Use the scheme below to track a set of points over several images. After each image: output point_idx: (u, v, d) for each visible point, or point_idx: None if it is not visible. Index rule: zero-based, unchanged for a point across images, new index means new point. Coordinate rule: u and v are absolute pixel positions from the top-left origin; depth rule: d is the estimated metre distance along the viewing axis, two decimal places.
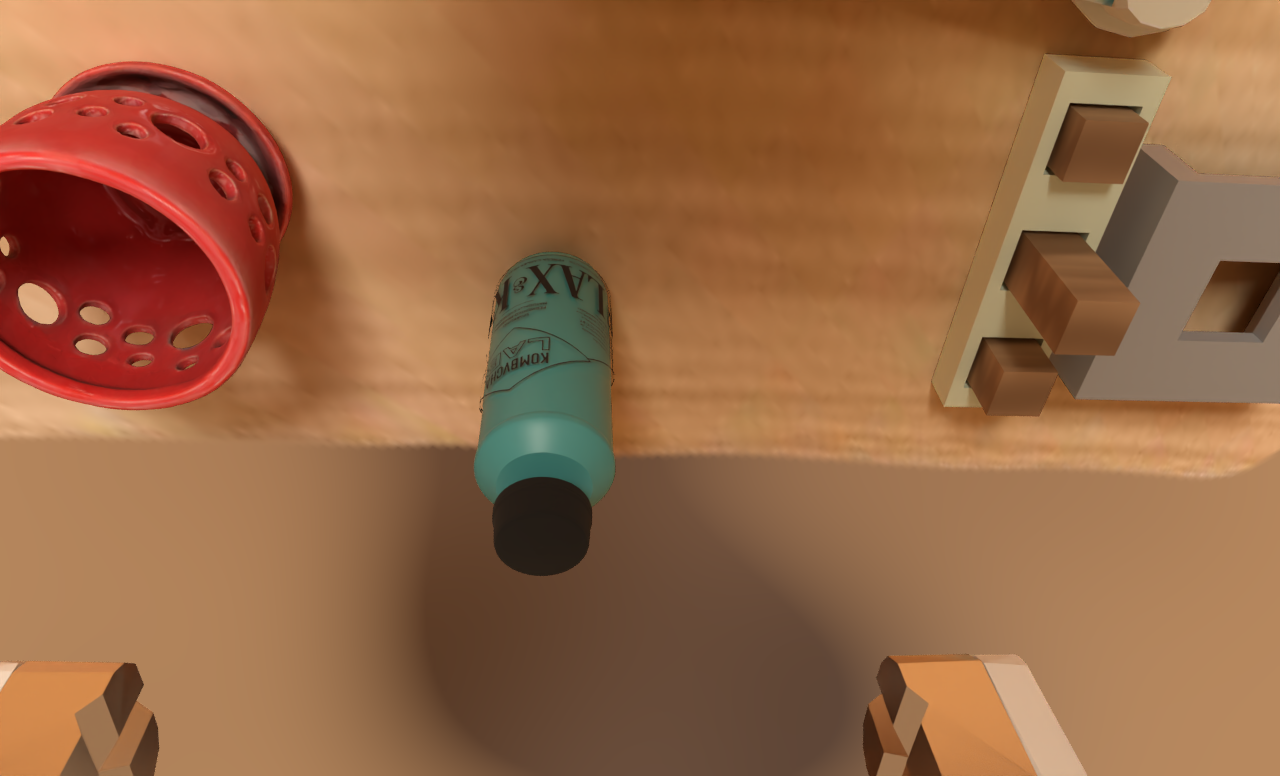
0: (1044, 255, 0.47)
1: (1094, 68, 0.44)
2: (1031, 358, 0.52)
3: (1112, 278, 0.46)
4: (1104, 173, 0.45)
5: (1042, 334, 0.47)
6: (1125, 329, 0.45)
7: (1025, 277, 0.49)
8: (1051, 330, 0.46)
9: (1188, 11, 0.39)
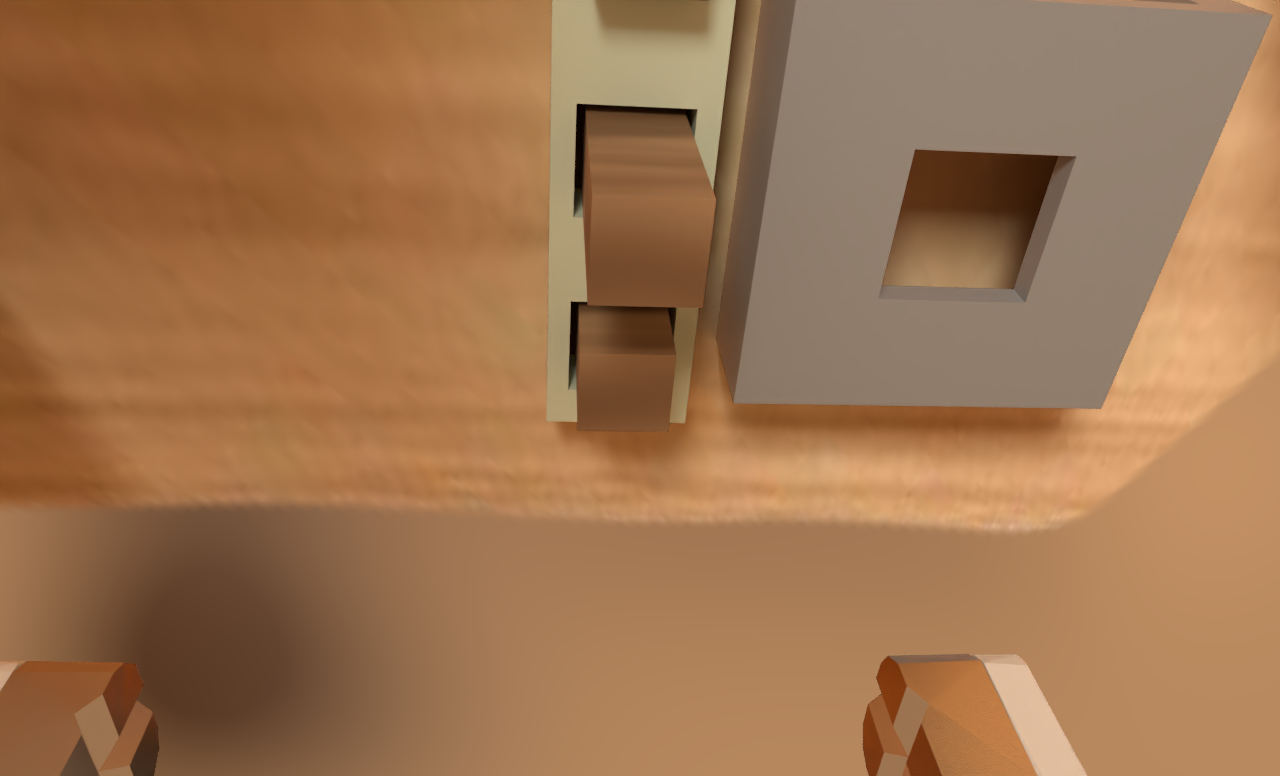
0: (594, 137, 0.27)
1: None
2: (642, 333, 0.31)
3: (692, 167, 0.25)
4: None
5: (586, 274, 0.26)
6: (705, 254, 0.24)
7: None
8: (587, 263, 0.25)
9: None
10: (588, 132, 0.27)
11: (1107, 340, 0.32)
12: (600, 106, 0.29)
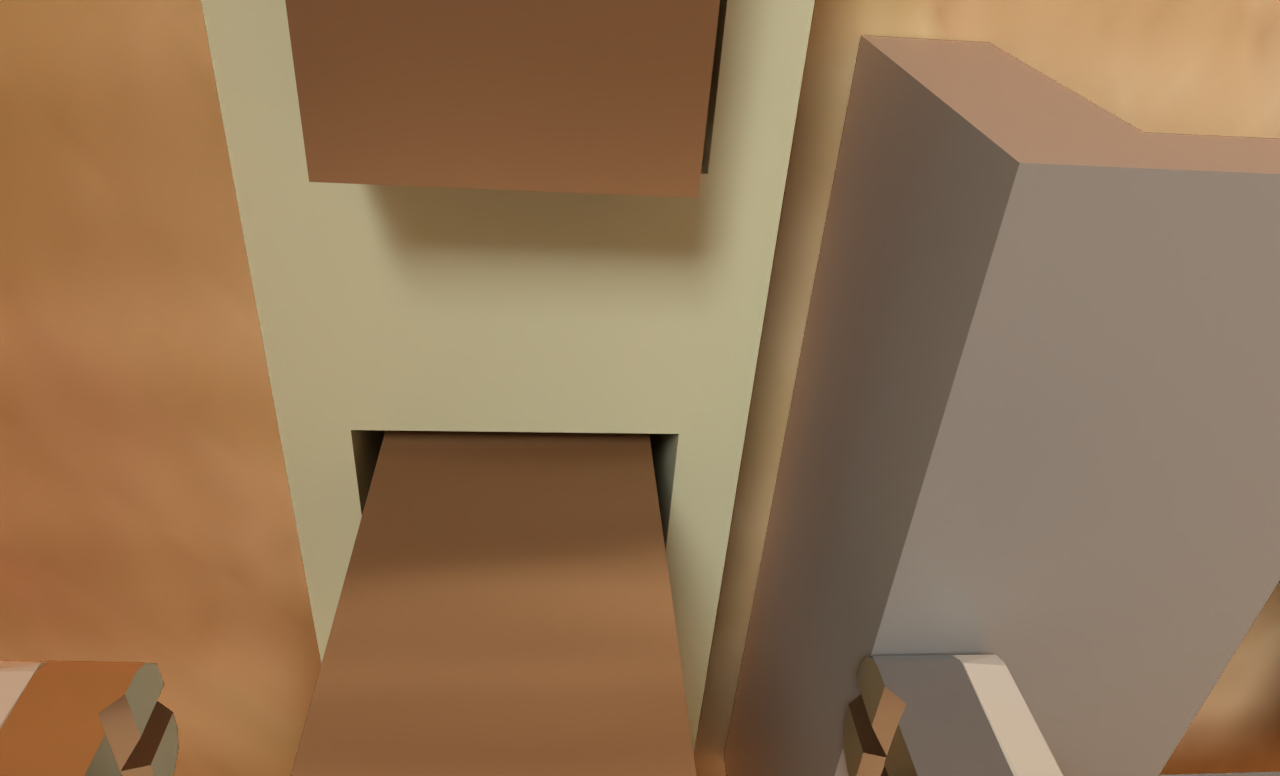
0: (363, 580, 0.09)
1: None
2: None
3: (653, 769, 0.07)
4: (558, 128, 0.07)
5: None
6: None
7: None
8: None
9: None
10: (354, 554, 0.09)
11: None
12: None
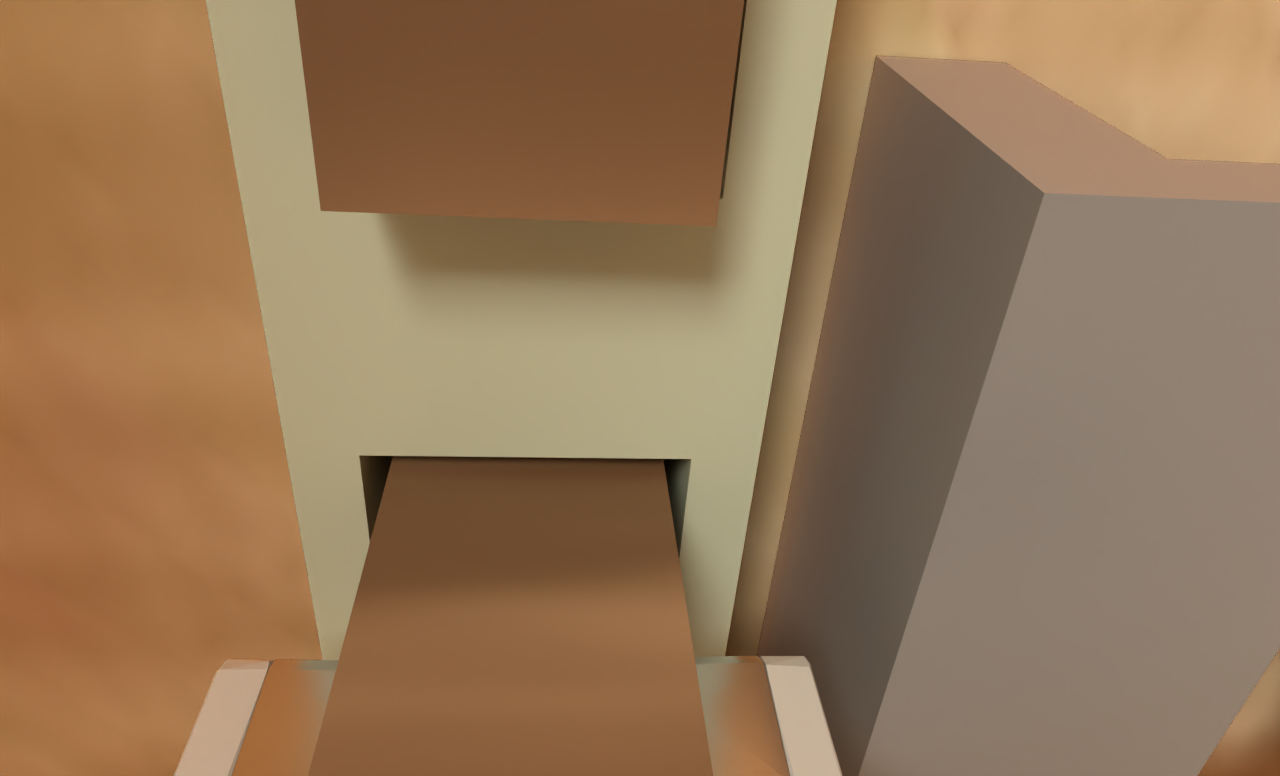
0: (373, 603, 0.09)
1: None
2: None
3: None
4: (574, 157, 0.07)
5: None
6: None
7: None
8: None
9: None
10: (364, 576, 0.09)
11: None
12: None
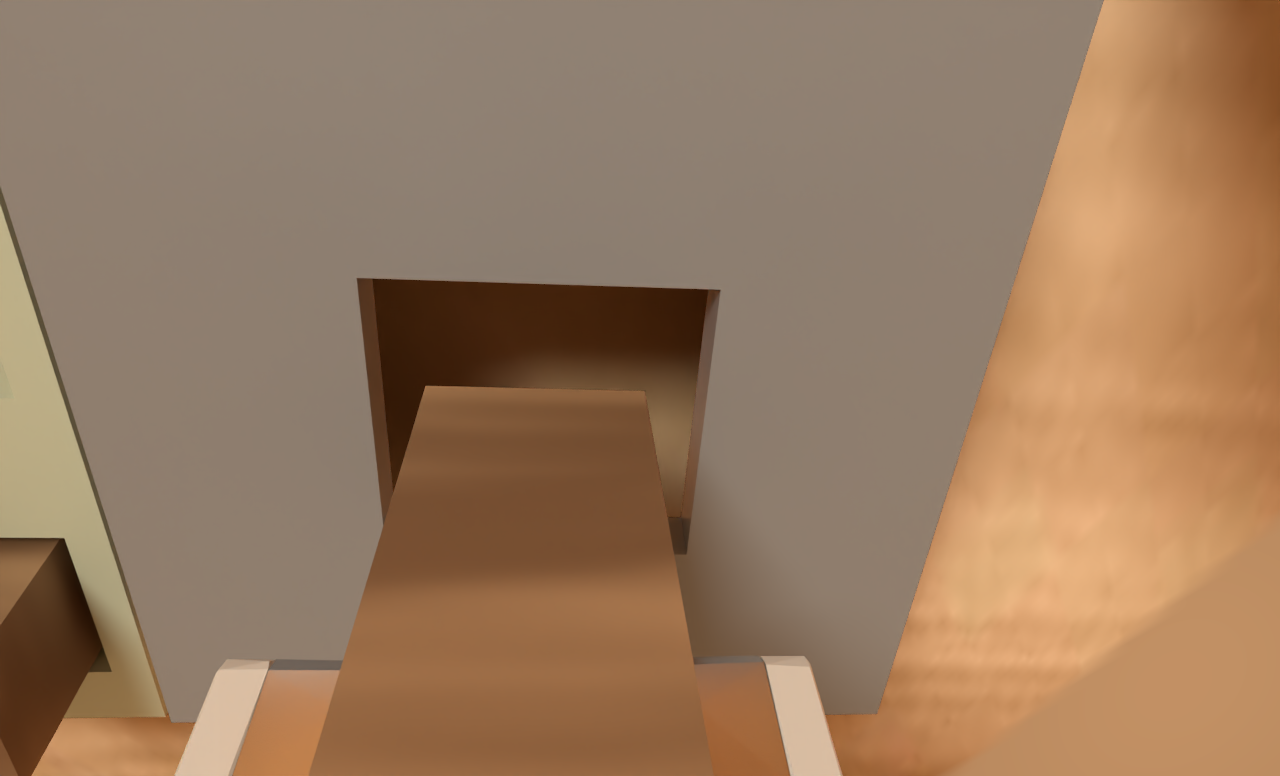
0: (382, 590, 0.09)
1: None
2: None
3: (669, 761, 0.07)
4: None
5: None
6: None
7: None
8: None
9: None
10: (373, 568, 0.09)
11: (864, 611, 0.17)
12: (446, 445, 0.12)
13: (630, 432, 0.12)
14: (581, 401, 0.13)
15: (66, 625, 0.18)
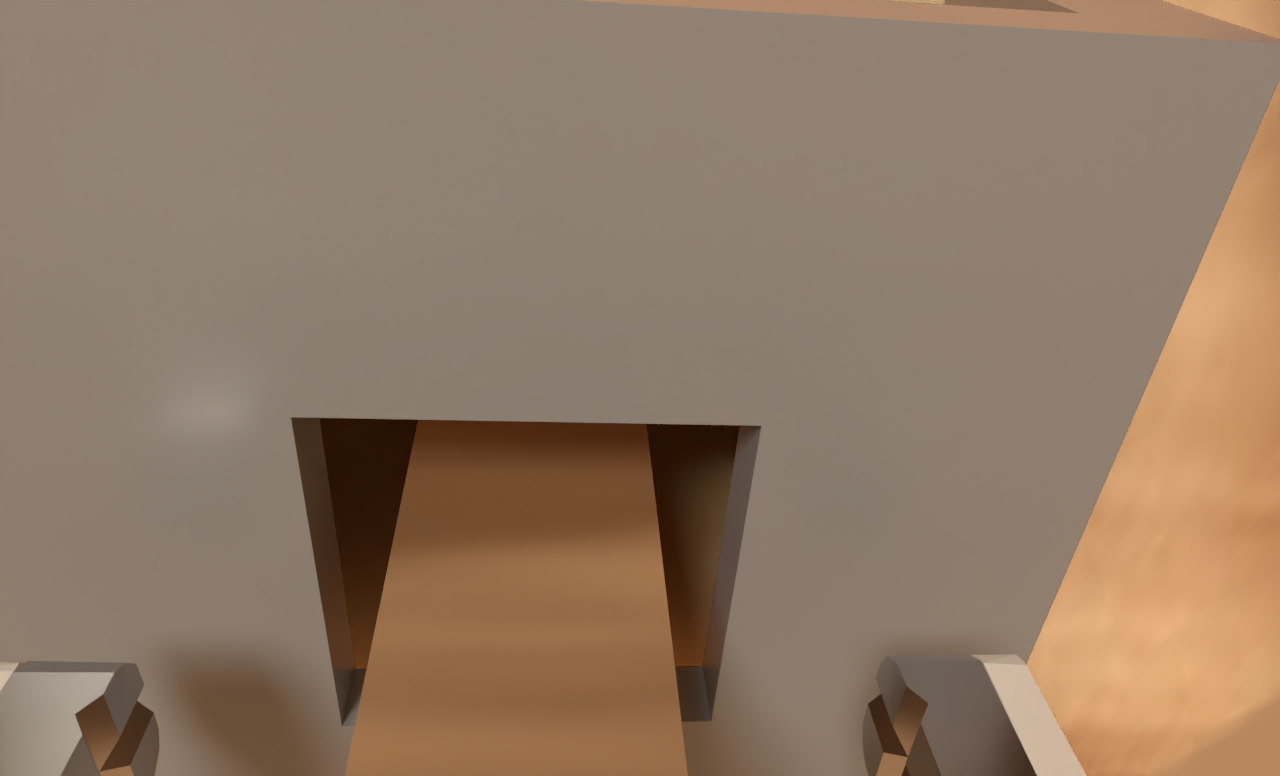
0: (405, 556, 0.11)
1: None
2: None
3: (646, 713, 0.09)
4: None
5: None
6: None
7: None
8: None
9: None
10: (397, 533, 0.11)
11: None
12: None
13: None
14: None
15: None
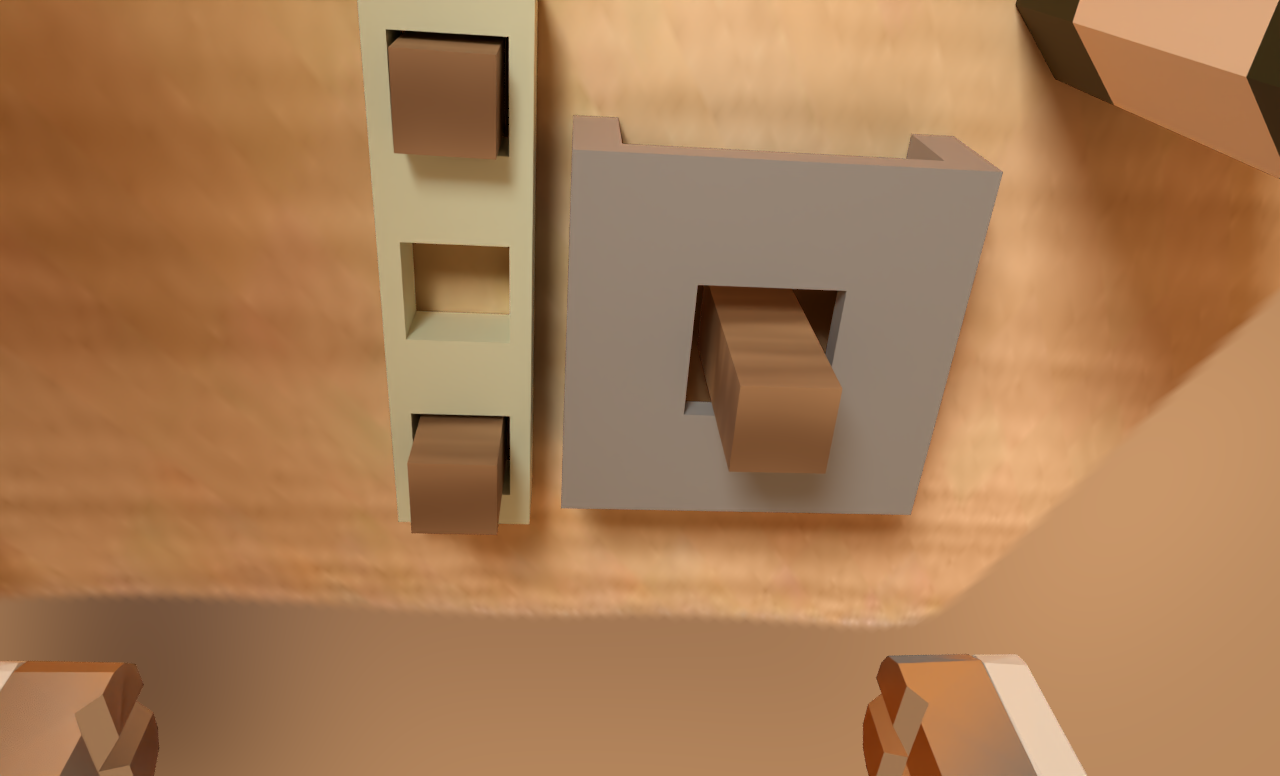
0: (726, 324, 0.32)
1: None
2: (471, 444, 0.34)
3: (815, 354, 0.30)
4: (457, 140, 0.29)
5: (722, 442, 0.31)
6: (830, 431, 0.29)
7: (713, 359, 0.33)
8: (726, 435, 0.30)
9: None
10: (720, 319, 0.32)
11: (905, 452, 0.35)
12: (723, 290, 0.34)
13: (783, 288, 0.35)
14: None
15: (501, 463, 0.36)
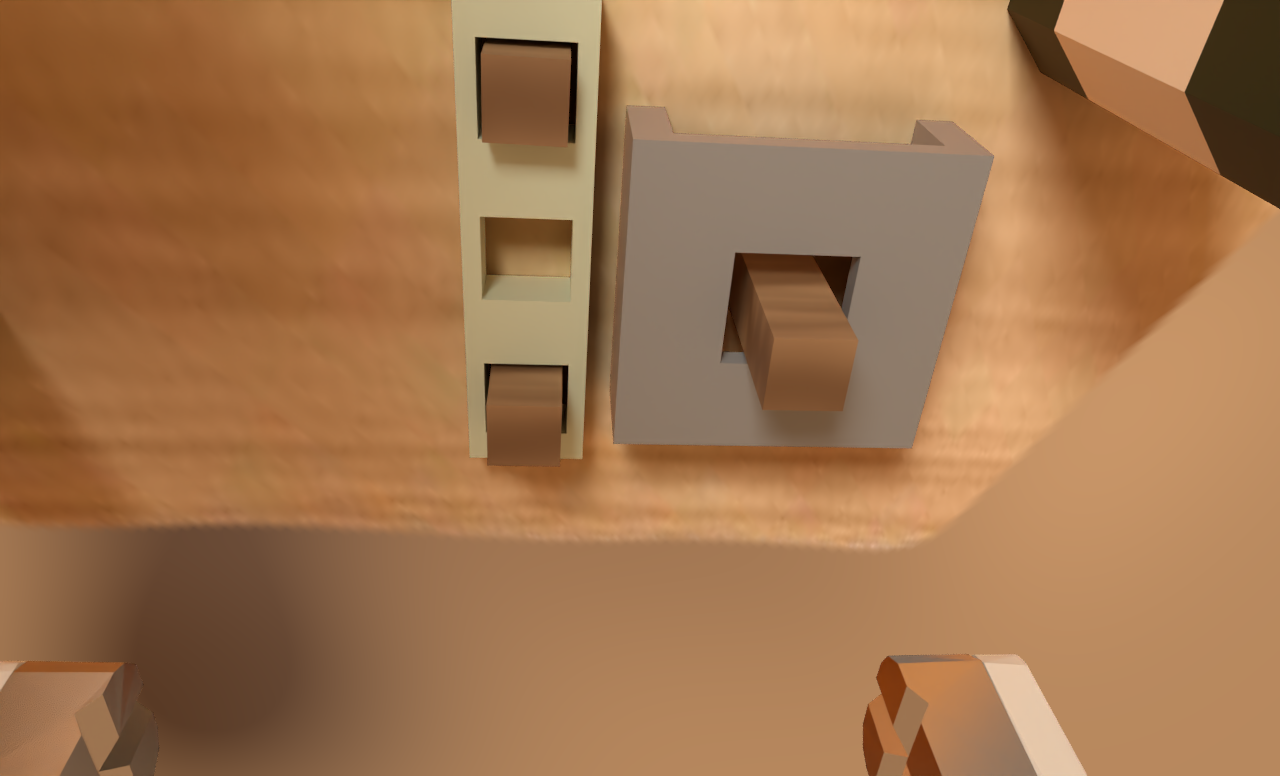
0: (758, 285, 0.37)
1: None
2: (537, 389, 0.40)
3: (834, 311, 0.36)
4: (536, 131, 0.34)
5: (755, 385, 0.37)
6: (847, 376, 0.35)
7: (745, 315, 0.39)
8: (760, 379, 0.36)
9: None
10: (753, 281, 0.38)
11: (908, 394, 0.41)
12: (753, 256, 0.40)
13: None
14: None
15: None
